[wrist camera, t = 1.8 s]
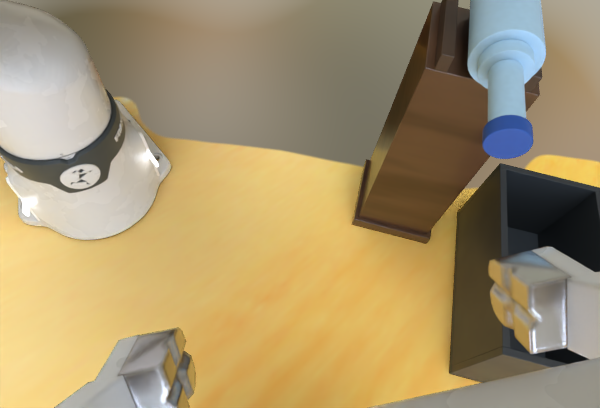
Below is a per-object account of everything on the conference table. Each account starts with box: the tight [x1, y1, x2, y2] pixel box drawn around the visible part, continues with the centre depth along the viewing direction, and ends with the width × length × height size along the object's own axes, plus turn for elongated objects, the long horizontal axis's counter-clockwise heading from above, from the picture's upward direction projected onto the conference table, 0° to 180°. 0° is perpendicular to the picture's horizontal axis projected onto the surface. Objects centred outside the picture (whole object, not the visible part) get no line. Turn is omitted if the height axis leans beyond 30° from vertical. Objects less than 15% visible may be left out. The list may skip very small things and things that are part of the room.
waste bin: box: [449, 164, 600, 383], centre depth 46 cm, size 21×11×12 cm, turn 166°
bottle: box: [467, 0, 546, 159], centre depth 29 cm, size 17×5×5 cm, turn 166°
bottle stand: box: [352, 0, 542, 243], centre depth 44 cm, size 10×10×28 cm
